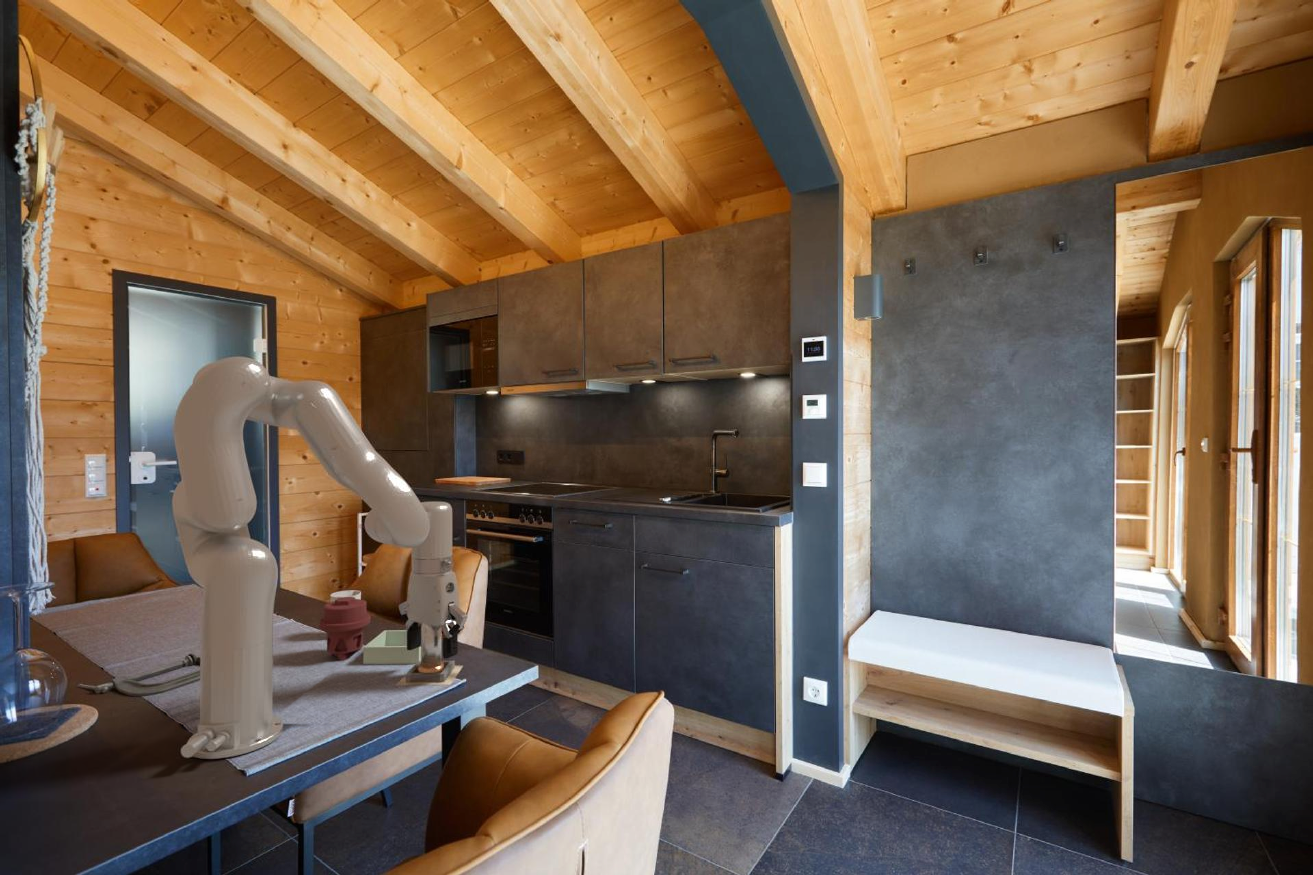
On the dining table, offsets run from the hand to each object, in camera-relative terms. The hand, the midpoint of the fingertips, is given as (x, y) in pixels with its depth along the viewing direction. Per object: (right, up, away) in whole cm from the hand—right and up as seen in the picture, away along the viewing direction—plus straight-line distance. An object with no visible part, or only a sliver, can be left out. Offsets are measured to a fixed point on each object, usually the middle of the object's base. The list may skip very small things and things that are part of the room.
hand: (432, 652), depth 122 cm
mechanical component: (-24, -6, +14) cm, 28 cm away
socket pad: (0, -6, 0) cm, 6 cm away
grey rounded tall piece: (0, -4, 0) cm, 4 cm away
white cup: (-31, -6, +27) cm, 41 cm away
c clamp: (-53, -6, +1) cm, 54 cm away
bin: (-11, -6, +11) cm, 17 cm away
